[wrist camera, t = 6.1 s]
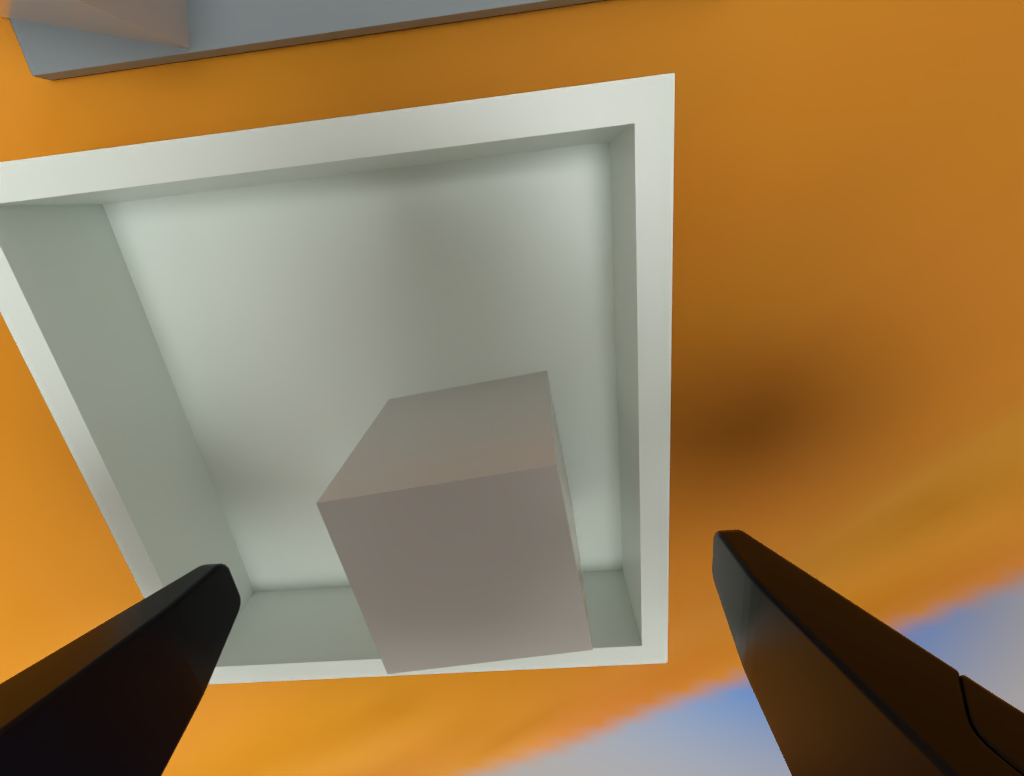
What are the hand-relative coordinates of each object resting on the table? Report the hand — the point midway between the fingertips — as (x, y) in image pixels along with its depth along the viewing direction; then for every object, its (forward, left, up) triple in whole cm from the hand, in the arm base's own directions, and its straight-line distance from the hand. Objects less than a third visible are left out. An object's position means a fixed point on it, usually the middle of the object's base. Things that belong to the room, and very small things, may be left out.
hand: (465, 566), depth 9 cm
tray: (+2, -2, -4) cm, 5 cm away
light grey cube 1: (0, 0, -4) cm, 4 cm away
